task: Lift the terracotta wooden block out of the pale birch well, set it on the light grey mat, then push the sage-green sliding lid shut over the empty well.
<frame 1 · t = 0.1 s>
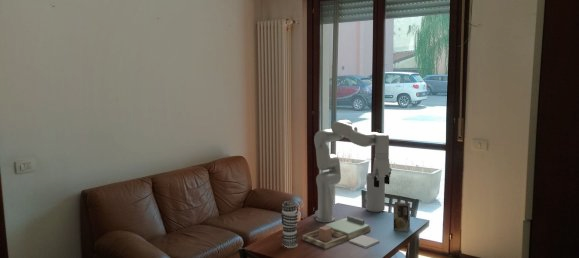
hand: (381, 185, 239), 31 cm above the table, tool pointing down, fingers open, 9 cm apart
cylinder vase: (375, 209, 295), on the table
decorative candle: (290, 245, 235), on the table
terracotta block: (325, 233, 242), in the well frame
well frame: (325, 239, 242), on the table
sliding lid: (347, 223, 254), point 5 cm above the table, slide at 19.0 cm
grey mat: (364, 242, 237), on the table
coffee box: (401, 229, 256), on the table
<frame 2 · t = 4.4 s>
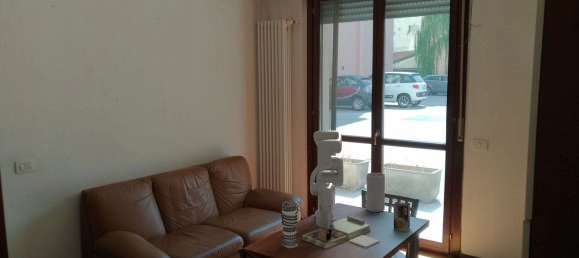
hand: (325, 237, 242), 1 cm above the table, tool pointing down, fingers closed on terracotta block, 5 cm apart
terracotta block: (325, 233, 242), in the well frame, touching gripper
everything else where it was.
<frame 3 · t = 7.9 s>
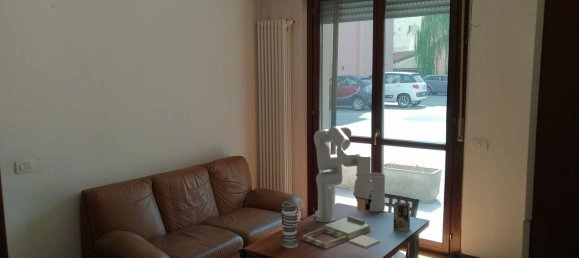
hand: (363, 208, 235), 20 cm above the table, tool pointing down, fingers closed on terracotta block, 5 cm apart
terracotta block: (363, 204, 235), point 22 cm above the table, touching gripper
everything else where it was.
when the fingers open (3 cm above the table, at t = 11.4 s): terracotta block drops 1 cm, resting on grey mat.
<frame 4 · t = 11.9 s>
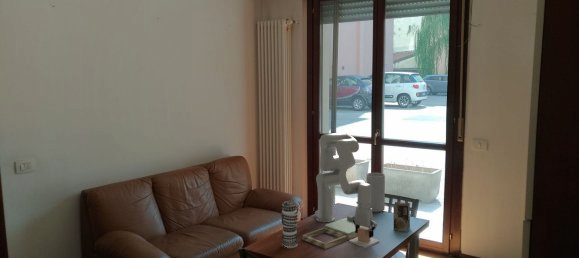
hand: (364, 234, 237), 4 cm above the table, tool pointing down, fingers open, 9 cm apart
terracotta block: (364, 234, 237), on the grey mat, point 4 cm above the table
everything else where it was.
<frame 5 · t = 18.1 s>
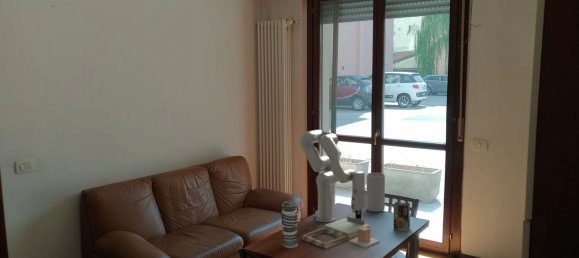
hand: (358, 219, 261), 5 cm above the table, tool pointing down, fingers closed
sliding lid: (346, 224, 254), point 5 cm above the table, slide at 18.9 cm, touching gripper
everything else where it was.
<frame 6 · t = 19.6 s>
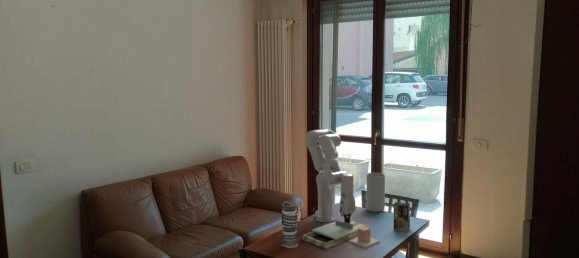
hand: (347, 223, 254), 5 cm above the table, tool pointing down, fingers closed
sliding lid: (335, 228, 247), point 5 cm above the table, slide at 8.3 cm, touching gripper
everything else where it was.
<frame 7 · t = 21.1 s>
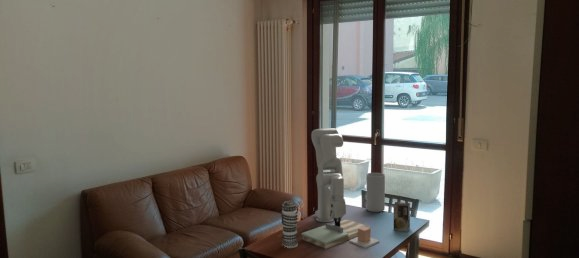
hand: (337, 227, 248), 5 cm above the table, tool pointing down, fingers closed
sliding lid: (324, 232, 242), point 5 cm above the table, slide at -0.3 cm, touching gripper
everything else where it was.
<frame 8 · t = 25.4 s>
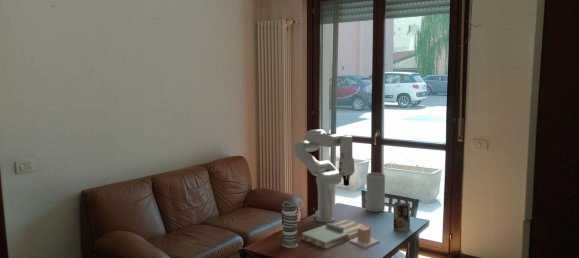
hand: (346, 185, 257), 27 cm above the table, tool pointing down, fingers closed
sliding lid: (325, 231, 242), point 5 cm above the table, slide at 0.0 cm
everything else where it was.
at the end: terracotta block inside the target area on the grey mat (0.1 cm from its centre), point 4.5 cm above the grey mat's base; terracotta block tilted 0°; sliding lid slide at 0.0 cm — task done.
